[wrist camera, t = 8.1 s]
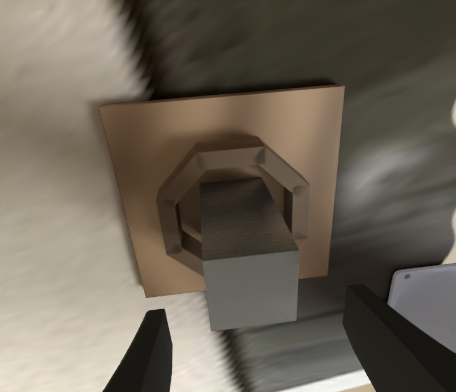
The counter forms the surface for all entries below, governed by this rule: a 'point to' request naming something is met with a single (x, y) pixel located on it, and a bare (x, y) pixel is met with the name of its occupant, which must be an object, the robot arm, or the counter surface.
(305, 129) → the holder board
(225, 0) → the counter surface
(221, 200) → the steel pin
